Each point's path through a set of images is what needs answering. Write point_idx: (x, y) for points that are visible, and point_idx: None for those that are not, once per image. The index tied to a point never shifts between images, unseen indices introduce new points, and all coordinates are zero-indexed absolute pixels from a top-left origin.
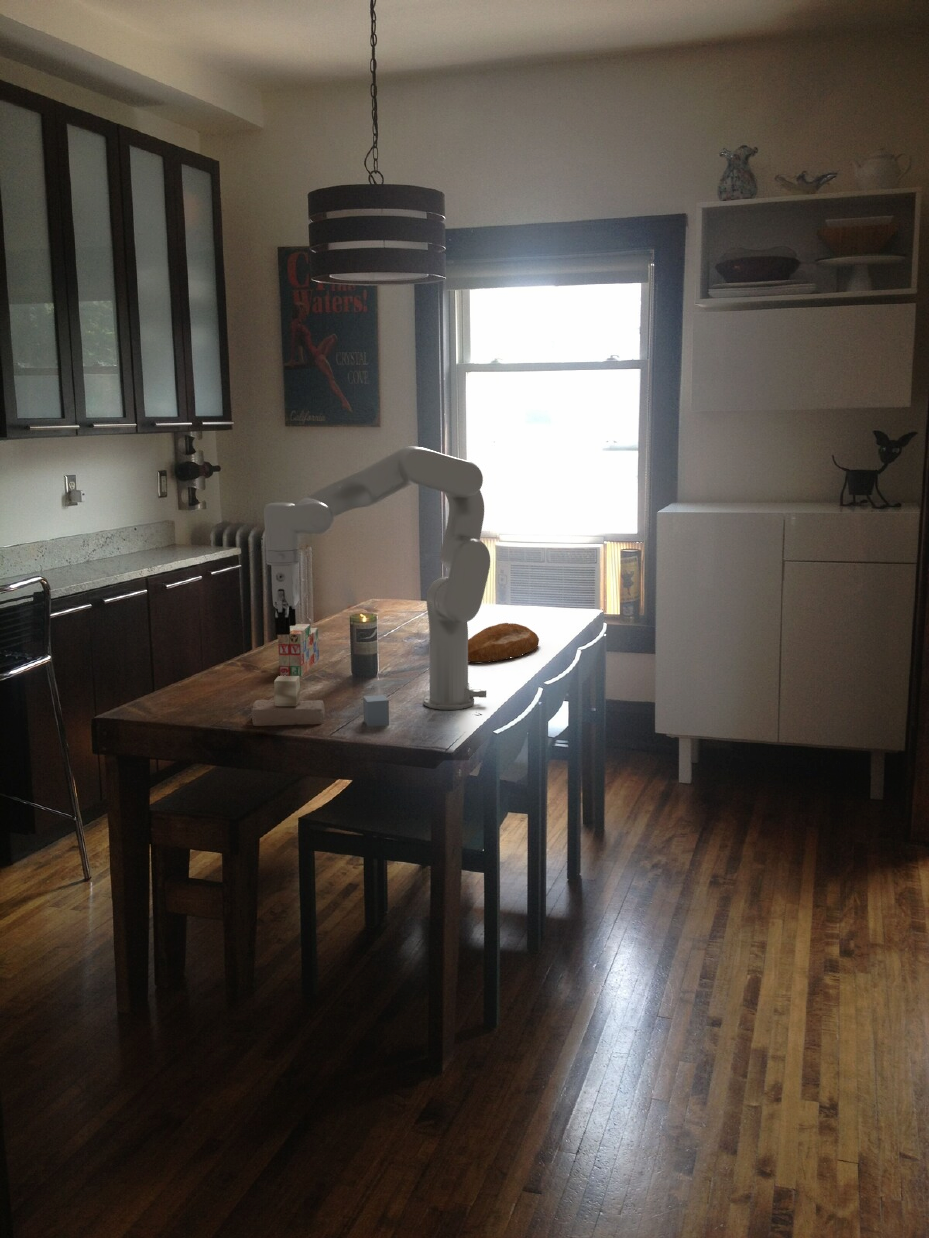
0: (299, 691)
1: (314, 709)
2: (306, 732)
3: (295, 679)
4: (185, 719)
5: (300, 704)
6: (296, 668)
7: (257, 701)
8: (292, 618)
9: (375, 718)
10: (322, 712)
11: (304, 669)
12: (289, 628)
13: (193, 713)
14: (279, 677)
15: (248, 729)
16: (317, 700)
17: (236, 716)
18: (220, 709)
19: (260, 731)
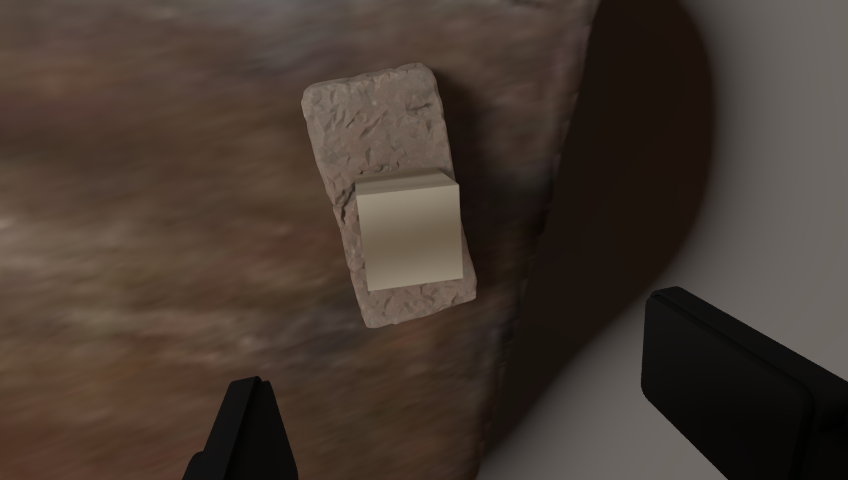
0: (367, 180)
1: (436, 93)
2: (521, 97)
3: (425, 195)
4: (425, 456)
5: (385, 164)
6: None
7: (391, 317)
8: (257, 456)
9: None
10: (420, 64)
11: None
12: (719, 310)
13: (369, 463)
14: (396, 277)
15: (500, 277)
16: (314, 112)
17: (379, 354)
18: (317, 420)
19: (516, 239)
